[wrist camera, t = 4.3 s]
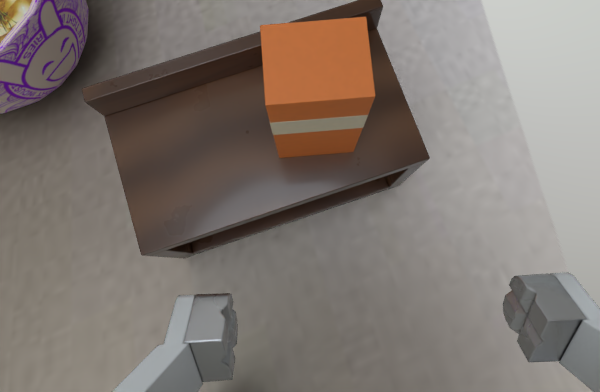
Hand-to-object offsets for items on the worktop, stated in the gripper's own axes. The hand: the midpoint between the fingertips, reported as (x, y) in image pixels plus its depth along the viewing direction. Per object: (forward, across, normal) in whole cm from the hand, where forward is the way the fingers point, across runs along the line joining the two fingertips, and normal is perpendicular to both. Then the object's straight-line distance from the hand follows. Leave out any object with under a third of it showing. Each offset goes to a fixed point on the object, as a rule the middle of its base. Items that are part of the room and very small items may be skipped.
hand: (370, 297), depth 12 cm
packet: (+17, +1, +3) cm, 17 cm away
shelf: (+24, +4, +9) cm, 26 cm away
